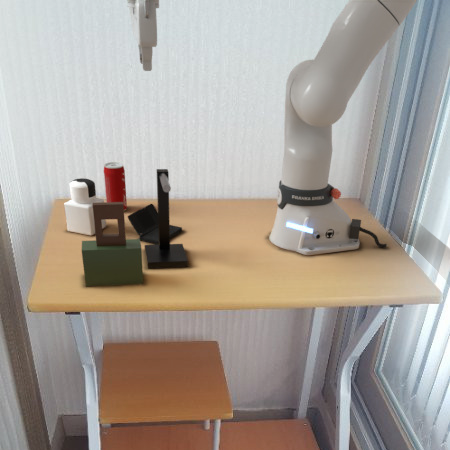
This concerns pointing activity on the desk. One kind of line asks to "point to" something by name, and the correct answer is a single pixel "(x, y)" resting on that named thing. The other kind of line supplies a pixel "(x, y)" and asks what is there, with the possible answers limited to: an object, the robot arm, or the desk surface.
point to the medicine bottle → (82, 207)
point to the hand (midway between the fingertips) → (145, 66)
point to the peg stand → (164, 232)
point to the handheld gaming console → (149, 224)
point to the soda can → (115, 183)
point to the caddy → (111, 251)
